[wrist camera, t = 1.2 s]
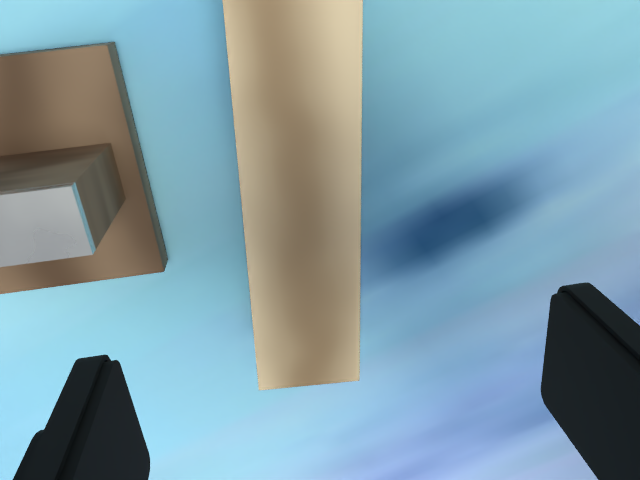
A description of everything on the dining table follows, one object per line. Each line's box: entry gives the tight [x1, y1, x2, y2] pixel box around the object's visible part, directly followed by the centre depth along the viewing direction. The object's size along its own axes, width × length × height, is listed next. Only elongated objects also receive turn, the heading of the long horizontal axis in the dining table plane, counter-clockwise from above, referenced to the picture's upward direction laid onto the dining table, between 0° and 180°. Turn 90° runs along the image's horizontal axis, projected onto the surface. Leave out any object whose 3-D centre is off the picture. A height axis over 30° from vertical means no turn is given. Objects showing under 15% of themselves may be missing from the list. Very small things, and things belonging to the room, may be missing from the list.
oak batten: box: [223, 0, 363, 390], centre depth 27 cm, size 6×24×6 cm, turn 2°
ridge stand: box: [0, 42, 168, 294], centre depth 25 cm, size 10×12×8 cm
